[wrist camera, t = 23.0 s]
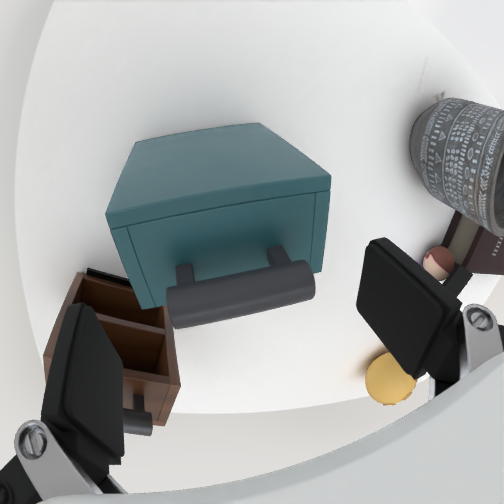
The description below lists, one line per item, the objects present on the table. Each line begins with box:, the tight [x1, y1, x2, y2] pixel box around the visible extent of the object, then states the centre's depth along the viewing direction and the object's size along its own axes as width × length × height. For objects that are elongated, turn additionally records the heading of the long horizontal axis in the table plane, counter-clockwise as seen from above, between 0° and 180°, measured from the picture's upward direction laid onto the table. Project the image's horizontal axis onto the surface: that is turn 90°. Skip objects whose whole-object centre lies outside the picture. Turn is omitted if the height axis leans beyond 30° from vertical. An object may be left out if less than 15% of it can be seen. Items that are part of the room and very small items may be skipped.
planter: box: [410, 98, 504, 237], centre depth 22 cm, size 12×12×13 cm
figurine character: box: [423, 246, 473, 297], centre depth 36 cm, size 7×8×15 cm
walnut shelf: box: [43, 272, 181, 436], centre depth 21 cm, size 15×10×6 cm
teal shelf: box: [105, 123, 331, 329], centre depth 17 cm, size 15×10×6 cm
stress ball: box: [365, 352, 417, 405], centre depth 44 cm, size 10×10×10 cm
